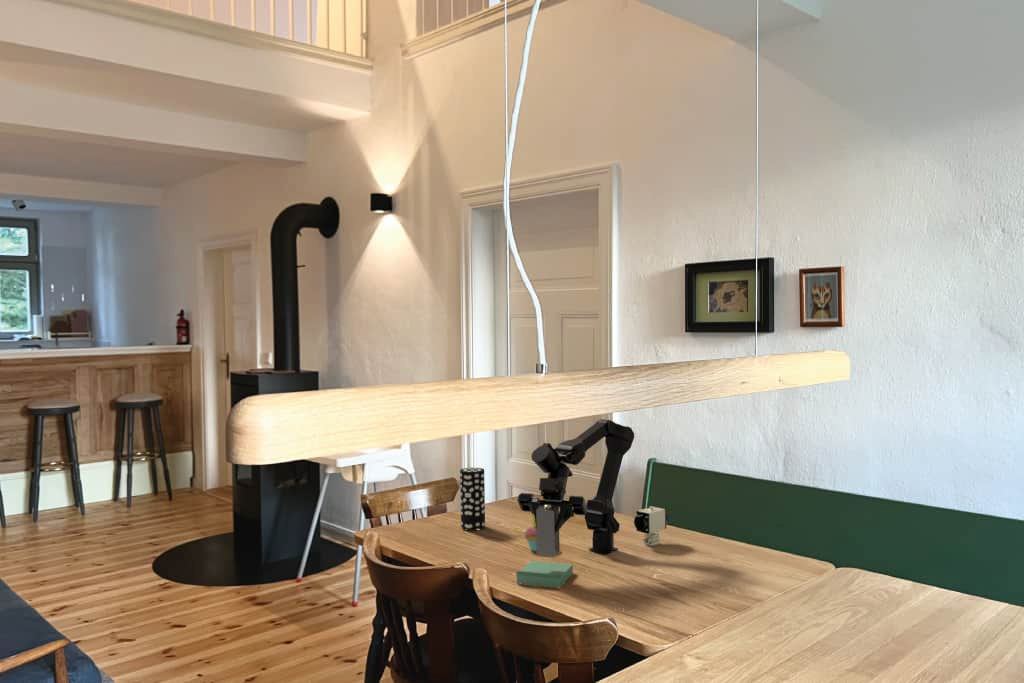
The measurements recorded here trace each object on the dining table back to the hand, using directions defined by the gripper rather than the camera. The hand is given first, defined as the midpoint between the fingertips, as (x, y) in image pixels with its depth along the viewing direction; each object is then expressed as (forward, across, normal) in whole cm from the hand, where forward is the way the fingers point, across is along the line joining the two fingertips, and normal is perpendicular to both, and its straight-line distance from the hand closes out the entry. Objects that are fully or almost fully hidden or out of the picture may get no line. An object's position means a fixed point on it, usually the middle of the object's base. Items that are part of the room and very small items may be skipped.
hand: (546, 530), depth 208 cm
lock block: (+4, 0, +6) cm, 7 cm away
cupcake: (-10, -11, +29) cm, 33 cm away
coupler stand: (+8, -1, +11) cm, 14 cm away
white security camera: (-20, +22, +39) cm, 49 cm away
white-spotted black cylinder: (-23, -40, +42) cm, 62 cm away
